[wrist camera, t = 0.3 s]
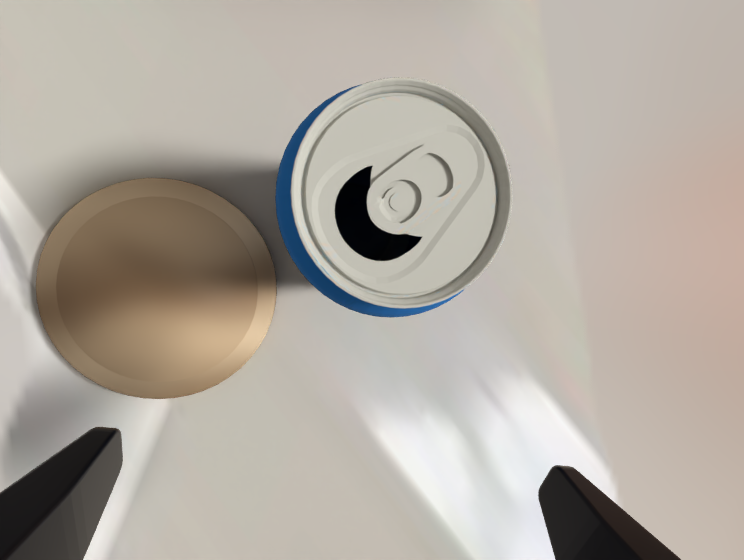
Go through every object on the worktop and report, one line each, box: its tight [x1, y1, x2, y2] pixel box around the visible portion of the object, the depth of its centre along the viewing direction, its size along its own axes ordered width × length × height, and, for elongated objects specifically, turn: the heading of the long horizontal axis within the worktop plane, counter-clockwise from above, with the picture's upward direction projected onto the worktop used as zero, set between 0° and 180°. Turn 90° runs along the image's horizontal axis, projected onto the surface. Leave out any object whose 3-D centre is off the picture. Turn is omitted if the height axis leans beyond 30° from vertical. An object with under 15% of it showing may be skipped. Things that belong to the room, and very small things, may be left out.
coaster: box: [36, 178, 277, 399], centre depth 19 cm, size 11×11×1 cm
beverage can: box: [275, 77, 512, 317], centre depth 15 cm, size 6×6×12 cm
